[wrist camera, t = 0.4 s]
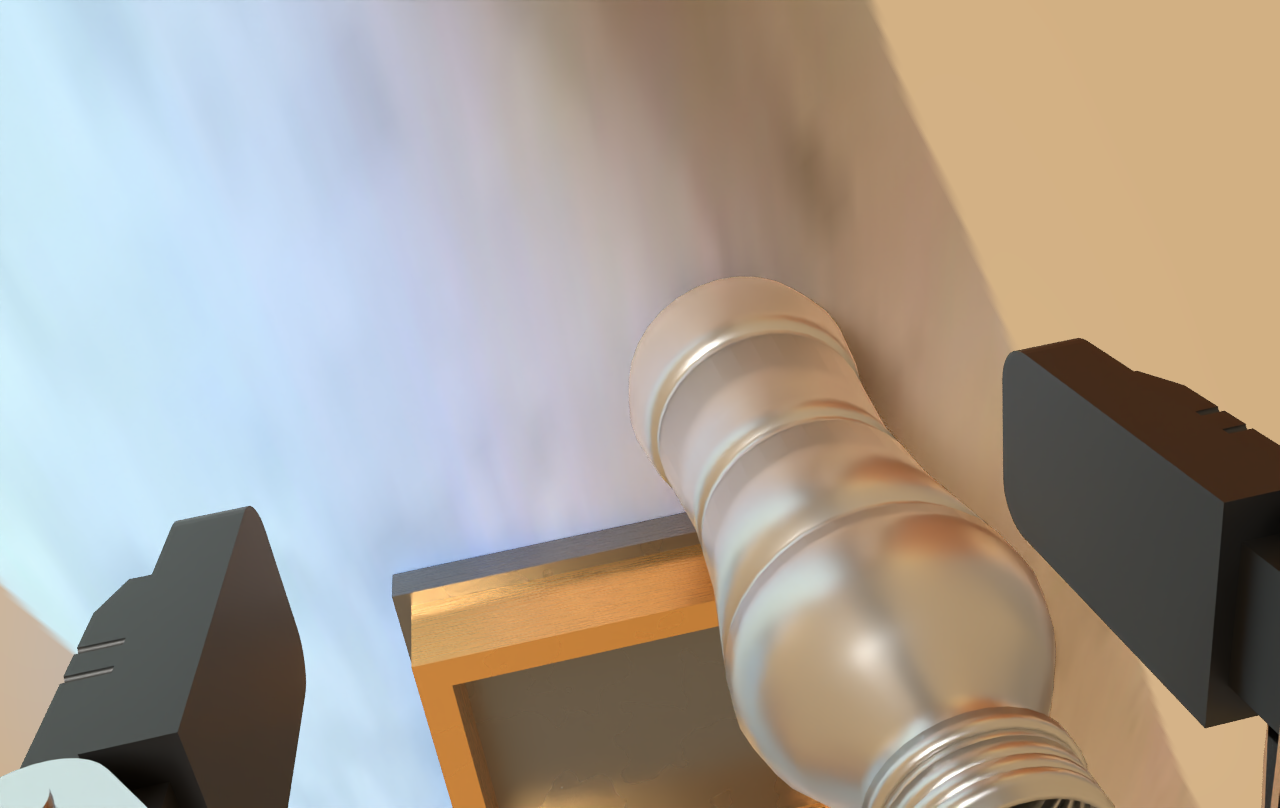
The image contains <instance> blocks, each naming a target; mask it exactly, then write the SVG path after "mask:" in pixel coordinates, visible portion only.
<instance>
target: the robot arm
mask: <svg viewBox="0 0 1280 808" xmlns="http://www.w3.org/2000/svg"><path fill="white" fill-rule="evenodd" d="M1002 384H1003V480H1004V491H1005V496H1006V501H1007V504H1008V508H1009V511H1010V514H1011V516H1012V519H1013V521H1014V523H1015V525H1016V527H1017V529H1018V530H1019V532H1020V533H1021V534H1022V536H1023V537H1024V538H1025V539H1026V540H1027V541H1028V542H1029V543H1030V544H1031V545H1032V547H1033V548H1034V549H1035V550H1036V551H1037V552H1038V553H1039V554H1040V555H1041V556H1042V557H1043V558H1044V559H1045V560H1046V561H1047V562H1048V563H1049V564H1050V565H1051V567H1052V568H1053V569H1054V570H1055V571H1056V572H1057V573H1058V574H1059V575H1060V576H1061V577H1062V578H1063V579H1064V580H1065V581H1066V582H1067V583H1068V584H1069V586H1070V587H1071V588H1072V589H1073V590H1074V591H1075V592H1076V593H1077V594H1078V595H1079V596H1080V597H1081V598H1082V599H1083V600H1084V601H1085V602H1086V603H1087V604H1088V606H1089V607H1090V608H1091V609H1092V610H1093V611H1094V612H1095V613H1096V614H1097V615H1098V616H1099V617H1100V618H1101V619H1102V620H1103V621H1104V622H1105V623H1106V624H1107V626H1108V627H1109V628H1110V629H1111V630H1112V631H1113V632H1114V633H1115V634H1116V635H1117V636H1118V637H1119V638H1120V639H1121V640H1122V641H1123V642H1124V643H1125V645H1126V646H1127V647H1128V648H1129V649H1130V650H1131V651H1132V652H1133V653H1134V654H1135V655H1136V656H1137V657H1138V658H1139V659H1140V660H1141V661H1142V662H1143V663H1144V664H1145V666H1146V667H1147V668H1148V669H1149V670H1151V672H1152V673H1153V674H1154V675H1155V676H1156V677H1157V678H1158V679H1159V680H1160V681H1161V682H1162V683H1163V685H1164V686H1165V687H1167V689H1168V690H1169V691H1170V692H1171V693H1172V694H1173V695H1174V696H1175V697H1176V698H1177V699H1178V700H1179V701H1180V702H1181V704H1182V705H1183V706H1184V707H1185V708H1186V709H1187V710H1188V711H1189V712H1190V713H1191V714H1192V715H1193V716H1194V717H1195V718H1196V719H1197V720H1198V721H1199V722H1200V724H1201V725H1203V726H1204V728H1208V727H1212V726H1216V725H1220V724H1225V723H1229V722H1233V721H1237V720H1241V719H1245V718H1249V717H1253V716H1258V715H1259V716H1260V717H1261V718H1262V719H1263V720H1264V721H1265V722H1266V723H1267V732H1266V741H1265V750H1264V762H1263V784H1262V807H1261V808H1280V445H1278V444H1277V443H1275V442H1273V441H1272V440H1270V439H1268V438H1267V437H1265V436H1264V435H1262V434H1260V433H1259V432H1257V431H1256V430H1254V429H1248V430H1247V428H1246V424H1245V423H1243V422H1242V421H1240V420H1238V419H1237V418H1235V417H1234V416H1232V415H1231V414H1229V413H1227V412H1226V411H1221V412H1219V410H1218V406H1216V405H1215V404H1213V403H1211V402H1210V401H1208V400H1206V399H1205V398H1204V397H1202V396H1200V395H1199V394H1197V393H1196V392H1194V391H1192V390H1191V389H1189V388H1188V387H1186V386H1184V385H1181V384H1178V383H1175V382H1172V381H1168V380H1165V379H1162V378H1159V377H1155V376H1152V375H1149V374H1145V373H1142V372H1139V371H1132V370H1131V369H1129V368H1127V367H1126V366H1125V365H1123V364H1121V363H1120V362H1119V361H1117V360H1115V359H1114V358H1112V357H1111V356H1109V355H1108V354H1106V353H1105V352H1103V351H1102V350H1100V349H1099V348H1097V347H1096V346H1094V345H1093V344H1091V343H1090V342H1088V341H1086V340H1084V339H1081V338H1077V339H1071V340H1067V341H1062V342H1057V343H1052V344H1047V345H1042V346H1037V347H1032V348H1027V349H1023V350H1018V351H1013V352H1011V353H1010V354H1009V355H1008V356H1007V358H1006V360H1005V364H1004V368H1003V379H1002ZM77 649H78V654H75V655H74V656H73V658H72V660H71V662H70V664H69V666H68V668H67V670H66V673H65V675H64V680H65V683H62V684H60V685H59V687H58V689H57V691H56V694H55V696H54V698H53V700H52V702H51V704H50V706H49V708H48V711H47V713H46V715H45V717H44V719H43V721H42V723H41V726H40V728H39V730H38V732H37V734H36V736H35V738H34V740H33V742H32V744H31V746H30V749H29V751H28V753H27V755H26V757H25V759H24V761H23V763H22V765H21V768H20V769H19V770H16V771H13V772H11V773H9V774H6V775H4V776H2V777H0V808H288V802H289V796H290V789H291V783H292V776H293V770H294V764H295V757H296V751H297V744H298V738H299V731H300V725H301V718H302V712H303V706H304V699H305V691H306V673H305V663H304V656H303V650H302V645H301V640H300V636H299V633H298V630H297V626H296V623H295V620H294V617H293V614H292V611H291V608H290V605H289V602H288V599H287V596H286V593H285V590H284V586H283V583H282V580H281V577H280V574H279V571H278V568H277V565H276V562H275V559H274V556H273V553H272V550H271V547H270V544H269V540H268V537H267V534H266V531H265V528H264V526H263V523H262V521H261V518H260V517H259V515H258V513H257V512H256V510H255V509H254V508H253V507H251V506H247V507H242V508H237V509H233V510H228V511H223V512H218V513H213V514H208V515H203V516H198V517H193V518H189V519H184V520H179V521H176V522H175V523H174V524H173V525H172V527H171V530H170V532H169V535H168V537H167V539H166V542H165V544H164V547H163V549H162V551H161V554H160V556H159V559H158V561H157V564H156V566H155V568H154V571H153V573H152V575H148V576H143V577H138V578H133V579H129V580H128V581H127V582H126V583H125V584H124V585H123V586H122V587H121V588H119V589H118V590H117V591H116V592H115V593H114V594H113V595H112V596H111V597H110V598H109V599H108V600H107V601H106V602H105V603H104V604H103V605H102V606H101V607H100V608H99V609H98V610H97V611H95V612H94V613H93V615H92V618H91V620H90V622H89V624H88V626H87V628H86V630H85V632H84V634H83V637H82V639H81V641H80V643H79V645H78V647H77Z"/></svg>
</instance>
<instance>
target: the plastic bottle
mask: <svg viewBox="0 0 1280 808" xmlns="http://www.w3.org/2000/svg"><path fill="white" fill-rule="evenodd" d="M629 408H630V419H631V424H632V427H633V430H634V433H635V436H636V439H637V441H638V442H639V444H640V445H641V447H642V449H643V450H644V452H645V453H646V455H647V457H648V458H649V460H650V461H651V463H652V464H653V466H654V467H655V469H656V470H657V472H658V473H659V475H660V476H661V477H662V478H663V479H664V480H665V481H666V482H667V483H668V484H669V485H670V486H671V487H672V488H673V490H674V492H675V493H676V495H677V497H678V499H679V501H680V502H681V504H682V506H683V508H684V510H685V511H686V513H687V515H688V517H689V519H690V520H691V522H692V524H693V526H694V528H695V530H696V531H697V535H698V538H699V541H700V544H701V548H702V551H703V555H704V559H705V562H706V565H707V569H708V572H709V575H710V579H711V582H712V586H713V589H714V596H715V603H716V610H717V616H718V623H719V630H720V637H721V644H722V651H723V658H724V665H725V669H726V680H727V684H728V687H729V691H730V695H731V699H732V703H733V708H734V711H735V714H736V717H737V720H738V724H739V727H740V729H741V731H742V732H743V734H744V735H745V737H746V738H747V740H748V741H749V743H750V744H751V746H752V747H753V749H754V750H755V751H756V752H757V753H758V754H759V755H760V757H761V758H762V759H763V760H764V761H765V762H766V764H767V765H768V766H769V767H770V768H771V769H772V770H773V772H774V773H775V774H776V775H777V776H778V777H780V778H781V779H782V780H783V781H784V782H785V783H787V784H788V785H789V786H790V787H791V788H792V789H794V790H796V791H798V792H800V793H802V794H804V795H806V796H808V797H810V798H812V799H814V800H816V801H818V802H820V803H822V804H824V805H826V806H828V807H830V808H1115V806H1114V805H1113V803H1112V802H1111V801H1110V799H1109V798H1108V797H1107V796H1106V794H1105V793H1104V791H1103V790H1102V789H1101V787H1100V786H1099V785H1098V783H1097V782H1096V781H1095V779H1094V778H1093V777H1092V775H1091V774H1090V773H1089V771H1088V769H1087V763H1086V761H1085V759H1084V756H1083V754H1082V752H1081V750H1080V749H1079V747H1078V746H1077V745H1076V743H1075V742H1074V741H1073V739H1072V738H1071V737H1070V735H1069V734H1068V733H1067V732H1066V731H1065V729H1064V728H1063V727H1062V726H1061V725H1060V724H1059V723H1058V722H1057V721H1055V720H1053V719H1052V718H1050V717H1049V715H1050V710H1051V705H1052V697H1053V689H1054V674H1055V658H1056V645H1055V637H1054V629H1053V625H1052V621H1051V618H1050V615H1049V611H1048V608H1047V604H1046V601H1045V598H1044V594H1043V592H1042V590H1041V587H1040V585H1039V583H1038V580H1037V578H1036V576H1035V573H1034V572H1033V570H1032V569H1031V568H1030V567H1029V566H1028V564H1027V563H1026V562H1025V561H1024V559H1023V558H1022V557H1021V556H1020V555H1019V554H1018V553H1017V552H1016V551H1015V550H1014V549H1013V548H1012V547H1011V546H1010V545H1009V544H1008V543H1007V541H1006V540H1005V539H1004V538H1003V537H1002V536H1001V535H1000V534H999V533H998V532H997V531H996V530H994V529H993V528H992V527H990V526H989V525H988V524H987V523H986V522H985V521H983V520H982V519H981V518H980V517H979V516H977V515H976V514H975V513H974V512H973V511H971V510H970V509H969V508H968V507H967V506H965V505H964V504H963V503H962V502H961V501H960V500H958V499H957V498H956V497H955V496H954V495H952V494H951V493H950V492H949V491H948V490H946V489H945V488H944V487H943V486H942V485H940V484H939V483H938V482H937V481H936V480H934V479H933V478H932V477H931V476H930V475H928V474H927V473H926V472H925V471H924V470H923V468H922V467H921V466H920V465H919V464H918V463H917V462H916V461H915V459H914V458H913V457H912V456H911V455H910V454H909V453H908V452H907V451H906V449H905V448H904V447H903V446H902V445H901V444H900V443H899V442H898V441H897V440H896V439H895V437H894V436H893V435H892V434H891V433H890V432H889V430H888V429H887V428H886V427H885V426H884V424H883V422H882V420H881V419H880V417H879V415H878V413H877V411H876V410H875V408H874V406H873V404H872V402H871V401H870V399H869V397H868V395H867V393H866V392H865V390H864V388H863V386H862V384H861V381H860V377H859V373H858V369H857V366H856V363H855V361H854V359H853V356H852V354H851V352H850V350H849V348H848V345H847V343H846V341H845V339H844V337H843V335H842V333H841V331H840V329H839V326H838V325H837V324H836V323H835V321H834V320H833V319H832V318H831V316H830V315H829V314H828V313H827V312H826V311H825V310H824V309H823V308H821V307H820V306H819V305H817V304H816V303H815V302H813V301H812V300H811V299H809V298H808V297H806V296H804V295H803V294H801V293H799V292H798V291H796V290H794V289H793V288H790V287H788V286H786V285H784V284H782V283H779V282H777V281H774V280H770V279H765V278H760V277H743V276H736V277H730V278H724V279H719V280H715V281H712V282H709V283H706V284H703V285H701V286H698V287H696V288H694V289H692V290H690V291H689V292H687V293H685V294H683V295H682V296H680V297H678V298H677V299H675V300H674V301H673V302H672V303H671V304H669V305H668V306H667V307H666V308H665V309H663V310H662V311H661V312H660V313H659V314H658V316H657V317H656V318H655V319H654V320H653V322H652V323H651V324H650V325H649V326H648V328H647V329H646V331H645V333H644V334H643V336H642V338H641V340H640V341H639V343H638V345H637V348H636V351H635V354H634V357H633V359H632V362H631V369H630V377H629Z"/></svg>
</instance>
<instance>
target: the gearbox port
mask: <svg viewBox="0 0 1280 808" xmlns="http://www.w3.org/2000/svg"><path fill="white" fill-rule="evenodd" d="M392 598H393V602H394V605H395V609H396V612H397V615H398V619H399V622H400V626H401V629H402V632H403V636H404V639H405V643H406V646H407V649H408V653H409V656H410V660H411V663H412V671H413V674H414V678H415V681H416V684H417V688H418V691H419V695H420V698H421V701H422V705H423V708H424V711H425V715H426V718H427V722H428V725H429V728H430V732H431V735H432V739H433V742H434V745H435V749H436V752H437V756H438V759H439V762H440V766H441V769H442V773H443V776H444V779H445V783H446V786H447V790H448V793H449V796H450V800H451V803H452V806H453V808H830V807H828V806H826V805H824V804H822V803H820V802H818V801H816V800H814V799H812V798H810V797H808V796H806V795H804V794H802V793H800V792H798V791H796V790H794V789H792V788H791V787H790V786H789V785H788V784H787V783H785V782H784V781H783V780H782V779H781V778H780V777H778V776H777V775H776V774H775V773H774V772H773V770H772V769H771V768H770V767H769V766H768V765H767V764H766V762H765V761H764V760H763V759H762V758H761V757H760V755H759V754H758V753H757V752H756V751H755V750H754V749H753V747H752V746H751V744H750V743H749V741H748V740H747V738H746V737H745V735H744V734H743V732H742V731H741V729H740V727H739V724H738V720H737V717H736V714H735V711H734V708H733V703H732V699H731V695H730V691H729V687H728V684H727V680H726V669H725V665H724V658H723V651H722V644H721V637H720V630H719V623H718V616H717V610H716V603H715V596H714V589H713V586H712V582H711V579H710V575H709V572H708V569H707V565H706V562H705V559H704V555H703V551H702V548H701V544H700V541H699V538H698V535H697V531H696V530H695V528H694V526H693V524H692V522H691V520H690V519H689V517H688V515H687V513H681V514H676V515H672V516H667V517H662V518H658V519H653V520H648V521H644V522H639V523H634V524H629V525H625V526H620V527H615V528H611V529H606V530H601V531H597V532H592V533H587V534H582V535H578V536H573V537H568V538H564V539H559V540H554V541H549V542H545V543H540V544H535V545H531V546H526V547H521V548H517V549H512V550H507V551H502V552H498V553H493V554H488V555H484V556H479V557H474V558H470V559H465V560H460V561H455V562H451V563H446V564H441V565H437V566H432V567H427V568H423V569H418V570H413V571H408V572H404V573H399V574H394V575H393V578H392Z"/></svg>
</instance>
